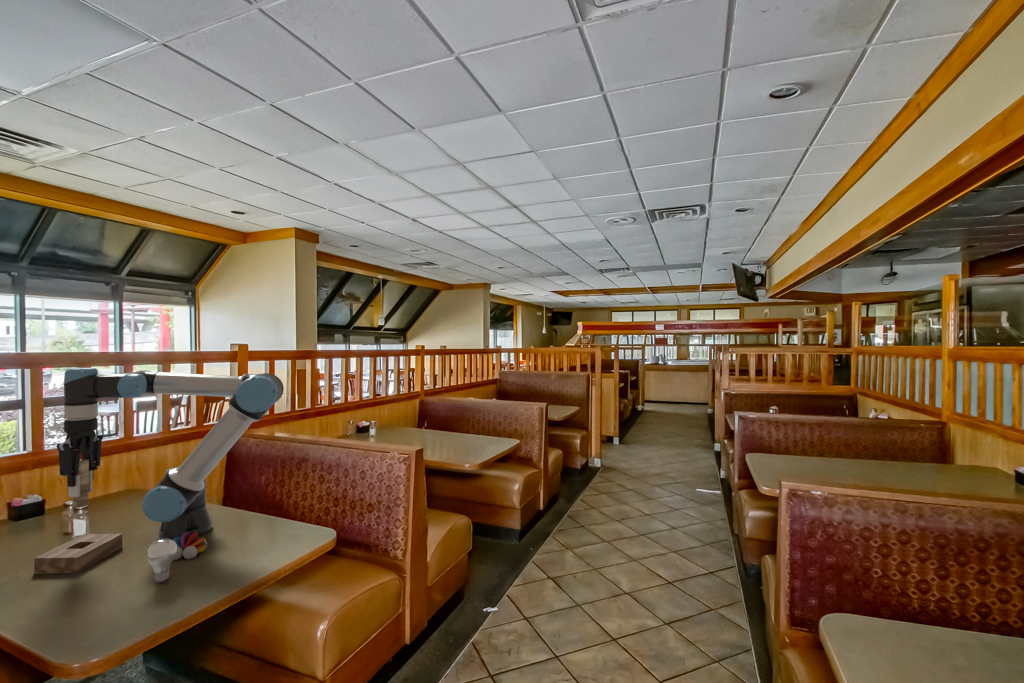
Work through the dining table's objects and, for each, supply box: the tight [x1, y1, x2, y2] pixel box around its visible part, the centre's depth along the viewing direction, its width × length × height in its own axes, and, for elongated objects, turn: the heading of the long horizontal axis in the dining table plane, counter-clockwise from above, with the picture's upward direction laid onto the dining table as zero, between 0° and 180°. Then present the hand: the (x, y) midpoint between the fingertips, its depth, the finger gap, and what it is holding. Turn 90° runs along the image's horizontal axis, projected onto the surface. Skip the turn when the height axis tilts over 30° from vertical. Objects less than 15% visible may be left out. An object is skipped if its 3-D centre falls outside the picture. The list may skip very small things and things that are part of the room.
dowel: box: [71, 458, 90, 509], centre depth 139 cm, size 4×4×14 cm
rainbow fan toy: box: [173, 532, 208, 561], centre depth 142 cm, size 8×10×7 cm
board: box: [33, 533, 123, 575], centre depth 139 cm, size 12×16×4 cm
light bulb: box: [145, 538, 178, 584], centre depth 126 cm, size 7×7×12 cm
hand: (80, 493), depth 139 cm, fingers closed on dowel, 4 cm apart
